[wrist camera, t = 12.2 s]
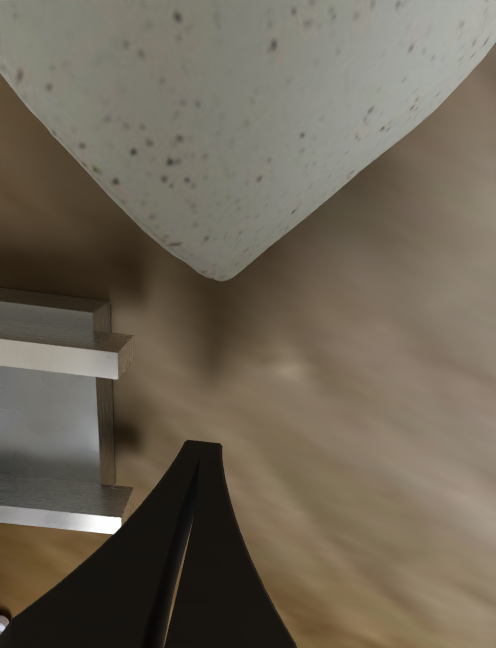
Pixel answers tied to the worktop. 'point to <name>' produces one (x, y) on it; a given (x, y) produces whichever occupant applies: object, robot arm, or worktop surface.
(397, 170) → the worktop surface
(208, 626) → the robot arm
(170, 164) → the ceramic mug
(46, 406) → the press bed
